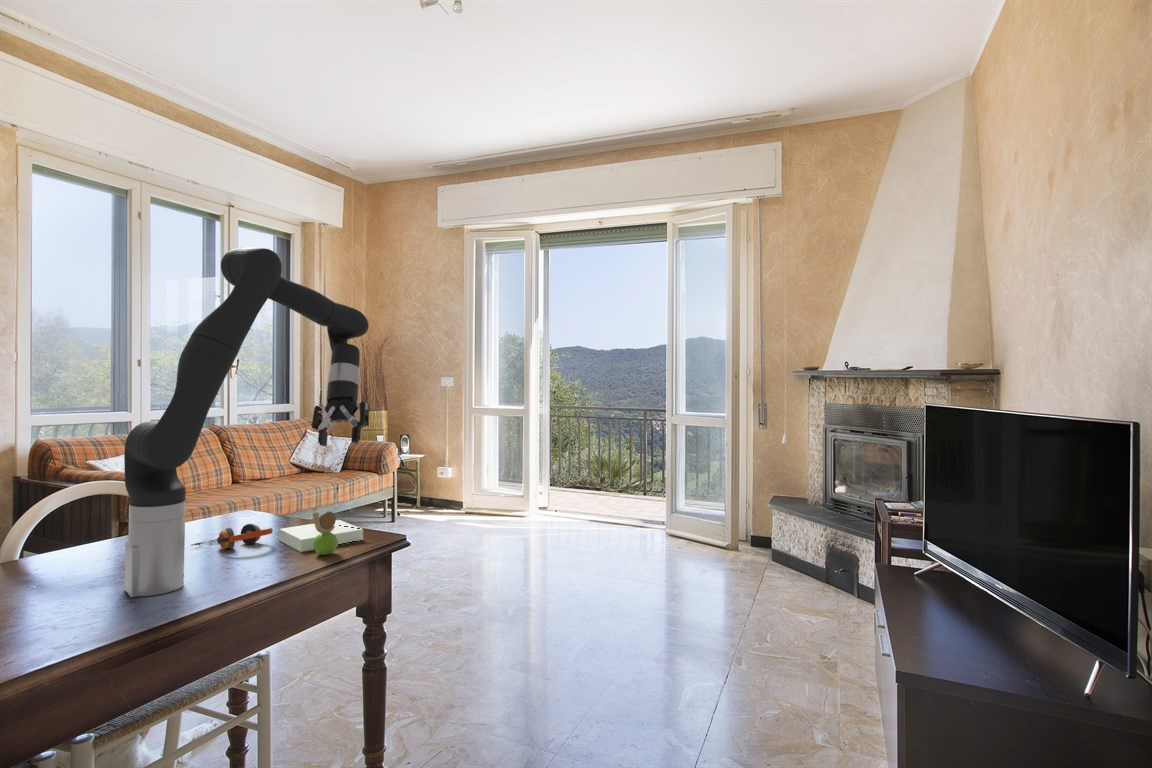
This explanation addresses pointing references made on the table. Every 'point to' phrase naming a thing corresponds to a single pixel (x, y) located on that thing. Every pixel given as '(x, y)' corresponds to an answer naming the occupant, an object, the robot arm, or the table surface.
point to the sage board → (306, 535)
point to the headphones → (240, 536)
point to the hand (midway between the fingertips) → (338, 444)
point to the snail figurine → (325, 533)
